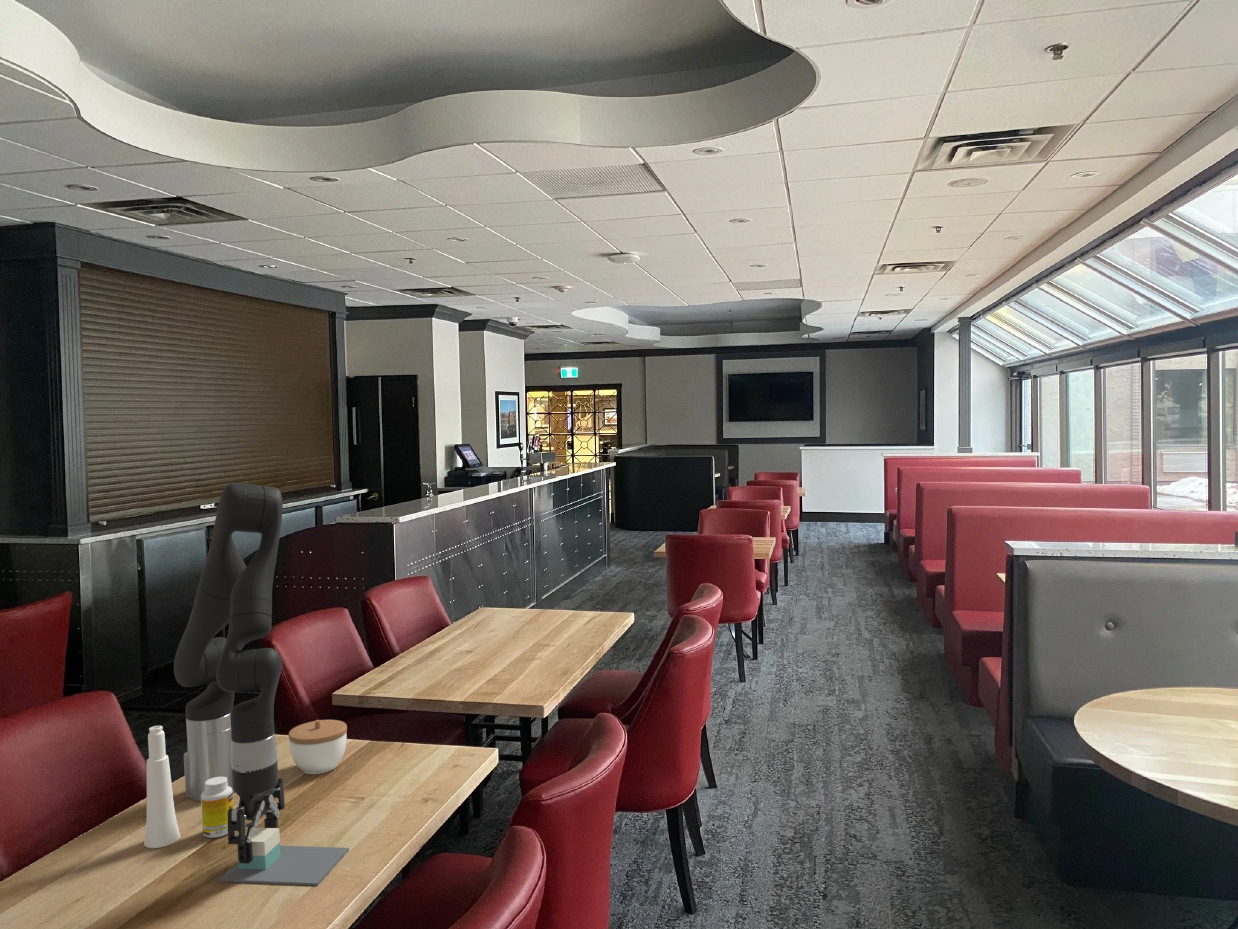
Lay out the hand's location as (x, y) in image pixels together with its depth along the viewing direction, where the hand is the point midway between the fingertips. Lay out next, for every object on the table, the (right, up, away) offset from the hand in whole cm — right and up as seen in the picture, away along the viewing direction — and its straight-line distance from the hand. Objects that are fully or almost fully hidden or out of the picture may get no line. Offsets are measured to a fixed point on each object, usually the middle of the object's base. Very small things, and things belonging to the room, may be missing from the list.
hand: (259, 850), depth 150 cm
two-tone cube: (0, -2, 0) cm, 2 cm away
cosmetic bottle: (-23, -3, +10) cm, 25 cm away
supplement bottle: (-13, -3, +13) cm, 19 cm away
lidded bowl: (-4, -1, +43) cm, 43 cm away
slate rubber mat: (+5, -2, 0) cm, 6 cm away
